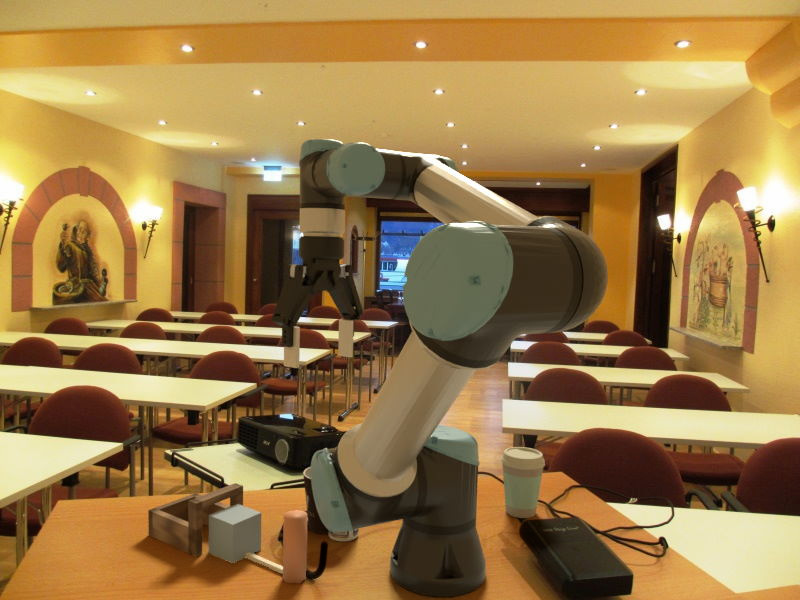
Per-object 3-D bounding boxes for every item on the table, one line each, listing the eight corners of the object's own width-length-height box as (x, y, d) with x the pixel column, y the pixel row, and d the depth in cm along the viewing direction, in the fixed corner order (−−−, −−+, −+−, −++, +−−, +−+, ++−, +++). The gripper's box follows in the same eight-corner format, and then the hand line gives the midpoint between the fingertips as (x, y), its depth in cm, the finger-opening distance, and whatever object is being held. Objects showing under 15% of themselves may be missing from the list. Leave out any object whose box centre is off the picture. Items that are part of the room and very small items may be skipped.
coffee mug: (342, 538, 111) (343, 483, 110) (295, 533, 112) (296, 478, 111) (358, 511, 122) (360, 461, 121) (316, 507, 124) (316, 457, 123)
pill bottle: (348, 526, 117) (349, 474, 116) (364, 537, 112) (365, 483, 112) (322, 533, 113) (323, 480, 113) (338, 545, 109) (339, 490, 108)
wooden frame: (242, 535, 112) (243, 485, 111) (196, 556, 104) (196, 503, 103) (195, 516, 119) (195, 469, 118) (148, 535, 111) (148, 485, 110)
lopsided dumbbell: (316, 573, 99) (317, 511, 99) (289, 589, 94) (289, 524, 94) (237, 540, 110) (237, 483, 109) (208, 553, 105) (208, 494, 104)
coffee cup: (550, 519, 122) (553, 458, 121) (509, 523, 120) (512, 461, 119) (531, 502, 130) (533, 445, 129) (492, 505, 128) (494, 447, 127)
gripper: (351, 237, 118) (349, 350, 120) (249, 232, 98) (248, 368, 99) (383, 237, 114) (381, 354, 116) (284, 232, 93) (282, 375, 95)
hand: (319, 361), depth 107 cm, fingers open, 13 cm apart
